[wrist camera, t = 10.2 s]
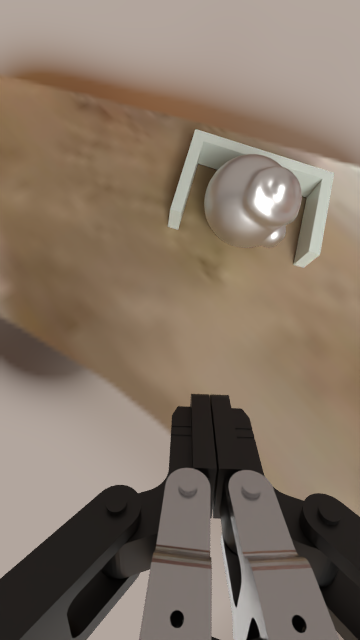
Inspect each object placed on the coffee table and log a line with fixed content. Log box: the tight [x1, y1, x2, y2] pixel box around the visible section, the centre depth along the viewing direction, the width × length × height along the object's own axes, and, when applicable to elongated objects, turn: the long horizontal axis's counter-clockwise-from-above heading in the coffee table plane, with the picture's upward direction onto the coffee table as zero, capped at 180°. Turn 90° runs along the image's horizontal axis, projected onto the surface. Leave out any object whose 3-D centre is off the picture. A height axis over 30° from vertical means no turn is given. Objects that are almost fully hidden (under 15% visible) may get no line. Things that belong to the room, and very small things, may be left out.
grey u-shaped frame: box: [168, 129, 334, 268], centre depth 36 cm, size 16×10×4 cm, turn 75°
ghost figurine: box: [204, 154, 302, 248], centre depth 32 cm, size 9×10×10 cm
